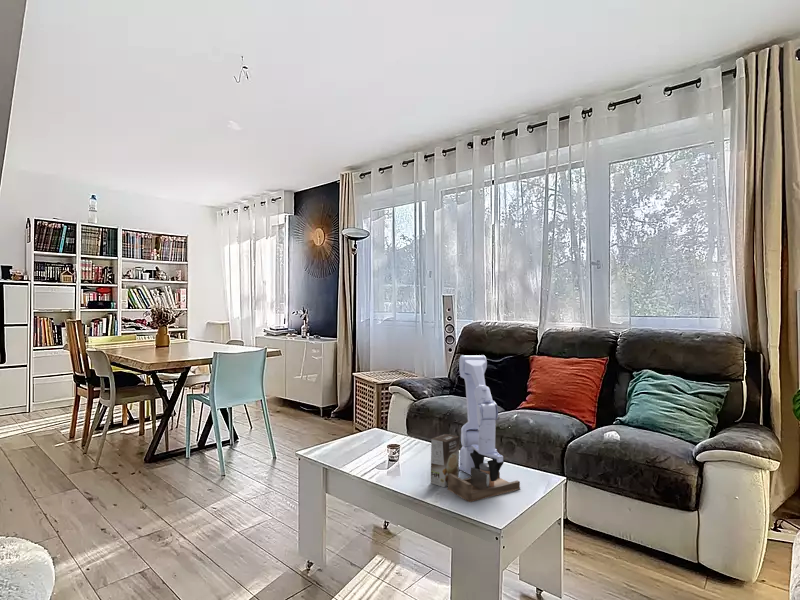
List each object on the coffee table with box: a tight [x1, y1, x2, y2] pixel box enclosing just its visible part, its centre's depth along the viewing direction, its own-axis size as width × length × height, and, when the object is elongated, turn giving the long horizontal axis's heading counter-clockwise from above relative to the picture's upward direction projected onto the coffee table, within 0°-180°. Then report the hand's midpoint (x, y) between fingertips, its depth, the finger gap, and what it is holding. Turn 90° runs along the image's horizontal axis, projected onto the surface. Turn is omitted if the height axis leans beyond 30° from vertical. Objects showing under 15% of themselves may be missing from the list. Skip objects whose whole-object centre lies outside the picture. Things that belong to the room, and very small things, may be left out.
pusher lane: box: [447, 471, 521, 503], centre depth 170 cm, size 12×22×6 cm, turn 120°
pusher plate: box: [470, 467, 489, 490], centre depth 169 cm, size 8×1×6 cm, turn 30°
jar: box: [479, 462, 494, 487], centre depth 170 cm, size 5×5×8 cm
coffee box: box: [430, 433, 460, 488], centre depth 176 cm, size 9×6×16 cm
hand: (486, 476), depth 170 cm, fingers open, 7 cm apart
